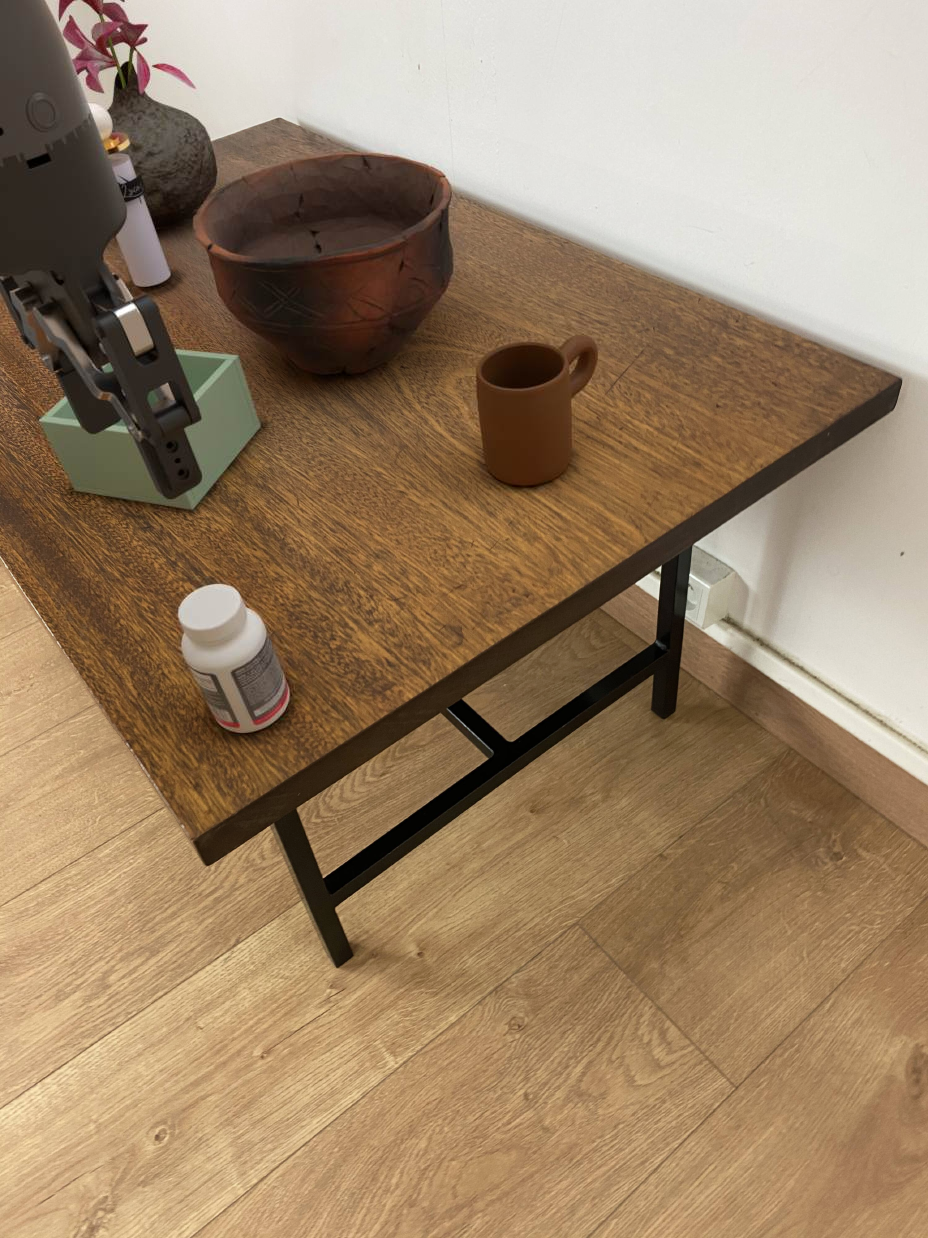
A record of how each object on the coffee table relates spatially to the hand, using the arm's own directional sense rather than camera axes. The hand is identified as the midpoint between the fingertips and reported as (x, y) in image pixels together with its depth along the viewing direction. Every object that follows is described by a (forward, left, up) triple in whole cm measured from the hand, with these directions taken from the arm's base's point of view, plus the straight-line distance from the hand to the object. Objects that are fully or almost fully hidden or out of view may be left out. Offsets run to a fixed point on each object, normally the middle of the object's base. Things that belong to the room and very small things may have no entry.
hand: (141, 456), depth 47 cm
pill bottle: (0, 0, -21) cm, 21 cm away
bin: (+24, +22, -21) cm, 39 cm away
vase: (+73, +53, -21) cm, 93 cm away
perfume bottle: (+55, +44, -21) cm, 74 cm away
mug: (+32, -12, -21) cm, 40 cm away
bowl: (+46, +13, -21) cm, 52 cm away
